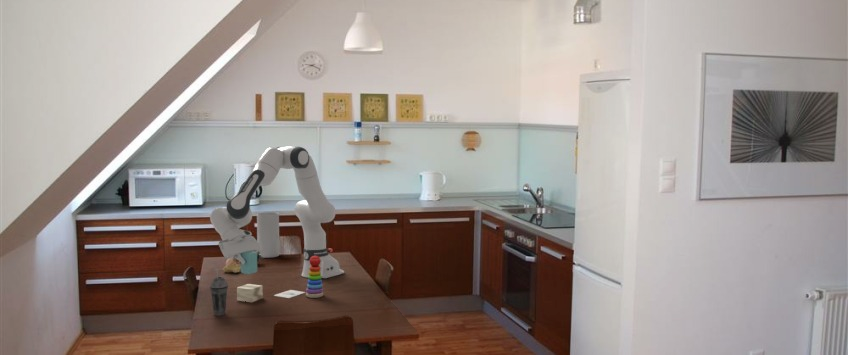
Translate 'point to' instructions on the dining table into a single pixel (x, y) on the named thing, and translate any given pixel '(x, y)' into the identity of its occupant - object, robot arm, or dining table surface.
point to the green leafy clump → (257, 257)
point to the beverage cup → (219, 294)
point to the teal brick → (249, 262)
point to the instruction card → (289, 294)
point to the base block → (249, 292)
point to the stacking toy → (314, 279)
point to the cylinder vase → (268, 234)
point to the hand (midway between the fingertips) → (250, 261)
